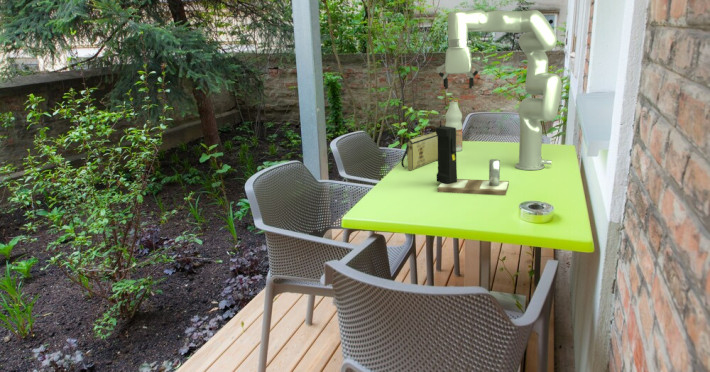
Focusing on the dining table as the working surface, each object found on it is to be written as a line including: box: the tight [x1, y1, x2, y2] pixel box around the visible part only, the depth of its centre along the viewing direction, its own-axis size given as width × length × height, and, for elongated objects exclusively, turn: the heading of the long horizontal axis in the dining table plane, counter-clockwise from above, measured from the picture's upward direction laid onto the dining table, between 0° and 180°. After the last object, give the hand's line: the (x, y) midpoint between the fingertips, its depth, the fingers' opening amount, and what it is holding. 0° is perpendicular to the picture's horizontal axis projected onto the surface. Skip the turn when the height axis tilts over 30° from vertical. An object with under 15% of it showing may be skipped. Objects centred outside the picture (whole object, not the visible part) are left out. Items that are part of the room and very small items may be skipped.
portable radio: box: [435, 120, 458, 184], centre depth 202 cm, size 8×6×25 cm
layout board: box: [437, 178, 510, 196], centre depth 200 cm, size 26×16×2 cm, turn 69°
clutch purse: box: [400, 131, 438, 172], centre depth 243 cm, size 30×7×15 cm, turn 142°
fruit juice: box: [444, 98, 463, 153], centre depth 272 cm, size 9×9×28 cm
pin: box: [488, 158, 501, 186], centre depth 196 cm, size 4×4×10 cm
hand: (458, 88), depth 200 cm, fingers open, 9 cm apart
